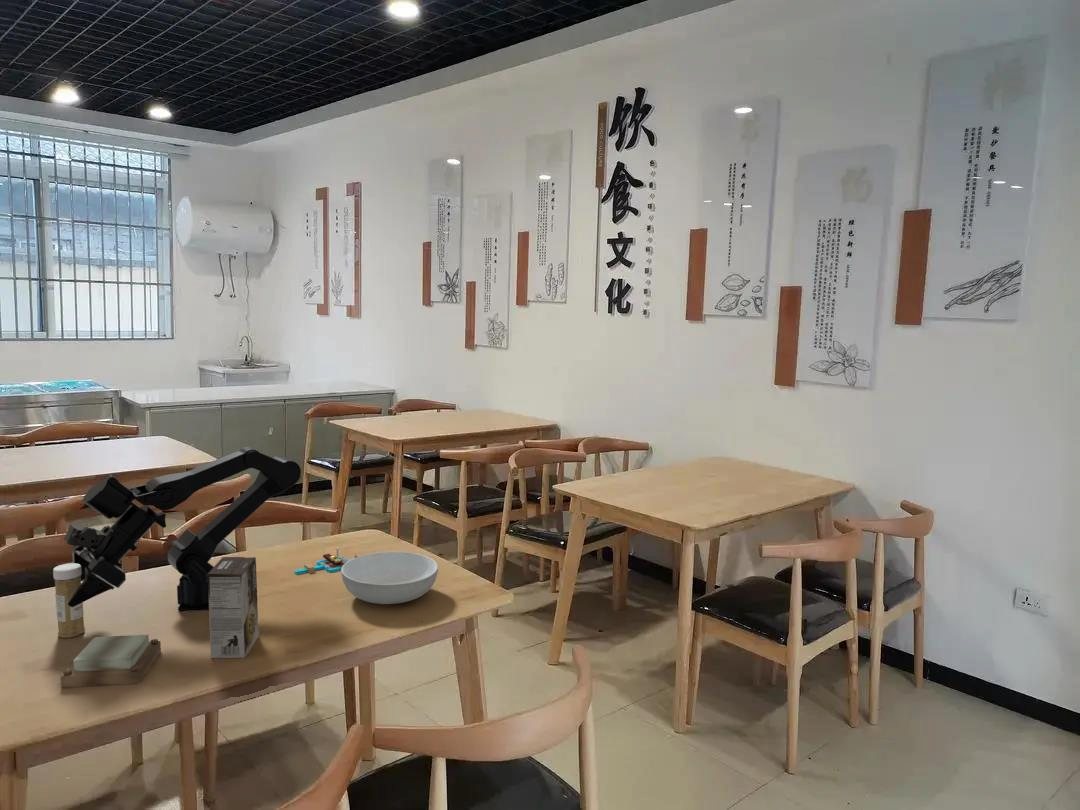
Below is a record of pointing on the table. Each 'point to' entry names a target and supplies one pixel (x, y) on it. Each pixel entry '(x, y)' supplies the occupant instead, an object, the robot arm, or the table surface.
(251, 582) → the coffee box
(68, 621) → the sprinkles bottle
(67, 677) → the brick tower base
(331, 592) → the table surface
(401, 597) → the serving bowl
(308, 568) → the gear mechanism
